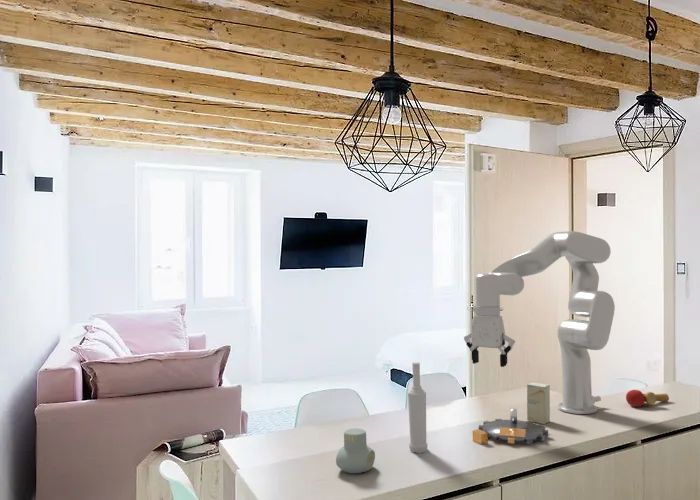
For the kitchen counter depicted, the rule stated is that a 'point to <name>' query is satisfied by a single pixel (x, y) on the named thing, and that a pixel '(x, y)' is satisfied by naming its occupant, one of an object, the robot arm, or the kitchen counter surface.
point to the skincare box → (538, 402)
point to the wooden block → (480, 437)
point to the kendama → (644, 398)
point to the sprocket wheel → (514, 430)
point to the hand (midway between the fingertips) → (489, 364)
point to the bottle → (417, 413)
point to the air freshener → (355, 452)
